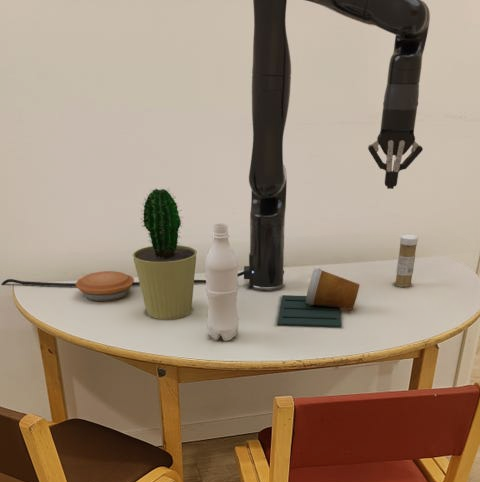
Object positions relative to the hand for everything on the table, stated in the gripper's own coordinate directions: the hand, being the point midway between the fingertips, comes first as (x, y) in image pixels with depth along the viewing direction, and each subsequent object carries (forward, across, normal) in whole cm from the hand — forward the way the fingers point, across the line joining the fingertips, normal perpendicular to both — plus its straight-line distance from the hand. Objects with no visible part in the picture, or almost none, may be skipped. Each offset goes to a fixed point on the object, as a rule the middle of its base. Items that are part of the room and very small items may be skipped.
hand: (389, 188), depth 144 cm
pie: (+29, +73, +4) cm, 78 cm away
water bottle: (+28, +36, +30) cm, 55 cm away
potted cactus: (+28, +52, +15) cm, 62 cm away
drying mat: (+28, +17, +11) cm, 35 cm away
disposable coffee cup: (+24, +6, +9) cm, 27 cm away
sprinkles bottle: (+28, -8, -12) cm, 31 cm away
